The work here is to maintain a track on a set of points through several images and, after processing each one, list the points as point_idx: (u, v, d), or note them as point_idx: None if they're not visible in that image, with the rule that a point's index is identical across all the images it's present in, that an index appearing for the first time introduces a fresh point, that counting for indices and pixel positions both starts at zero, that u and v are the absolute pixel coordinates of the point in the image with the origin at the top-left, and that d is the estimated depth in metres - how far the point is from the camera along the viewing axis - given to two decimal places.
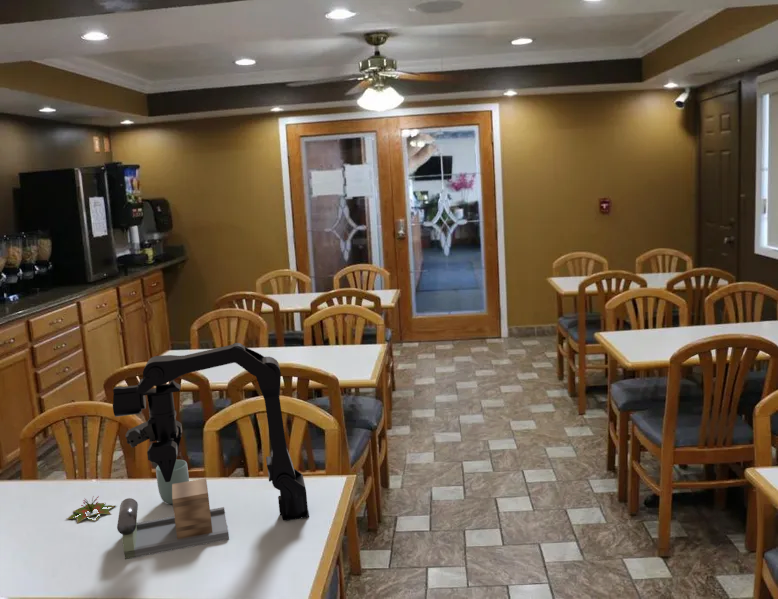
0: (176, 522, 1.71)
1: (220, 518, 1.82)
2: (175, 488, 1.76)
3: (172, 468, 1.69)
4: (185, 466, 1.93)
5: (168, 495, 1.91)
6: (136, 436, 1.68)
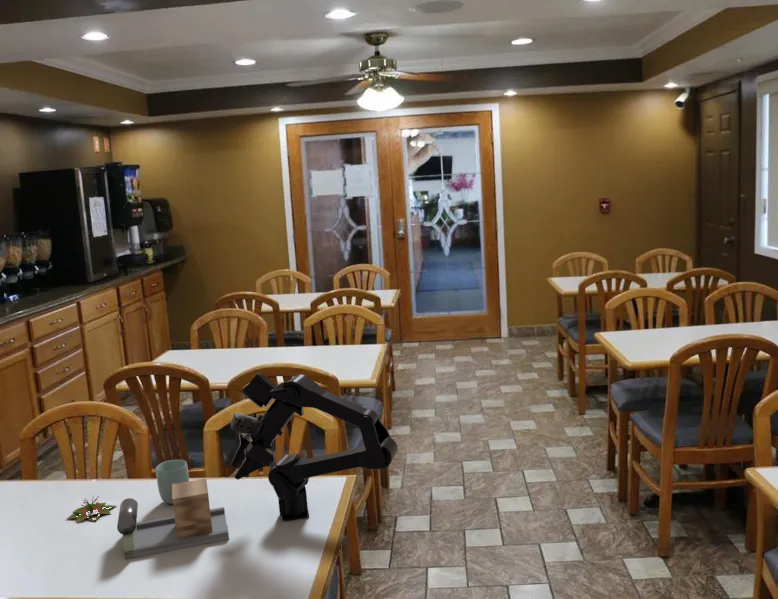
0: (176, 522, 1.71)
1: (220, 518, 1.82)
2: (175, 488, 1.76)
3: (251, 471, 1.73)
4: (185, 466, 1.93)
5: (168, 495, 1.91)
6: (247, 425, 1.72)
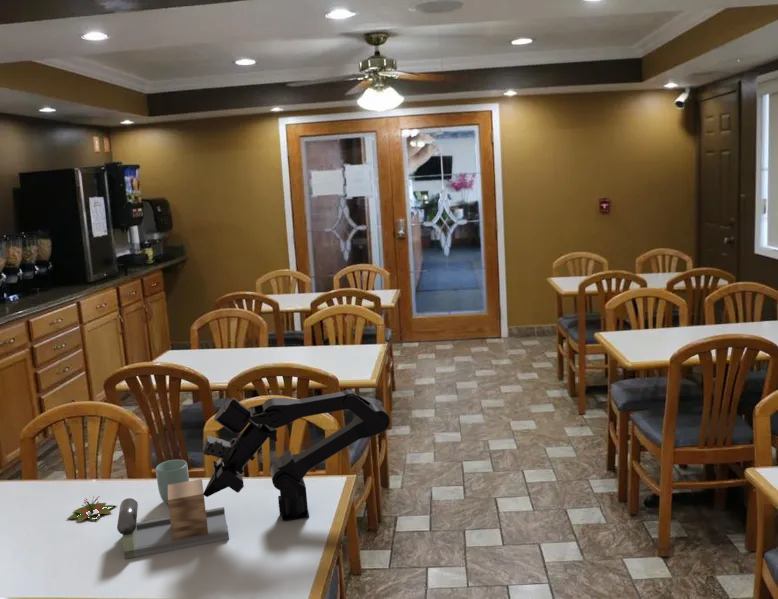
0: (171, 523, 1.71)
1: (220, 518, 1.82)
2: (170, 489, 1.75)
3: (220, 489, 1.76)
4: (185, 466, 1.93)
5: None
6: (219, 450, 1.72)
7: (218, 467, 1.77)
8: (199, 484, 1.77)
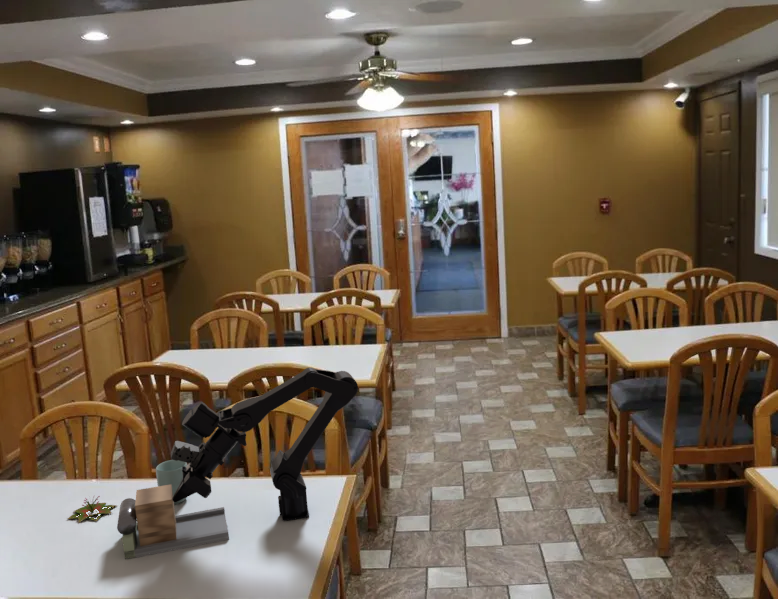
0: (139, 529, 1.69)
1: (220, 518, 1.82)
2: (139, 494, 1.74)
3: (188, 494, 1.74)
4: (185, 466, 1.93)
5: None
6: (186, 455, 1.70)
7: (187, 472, 1.75)
8: (168, 489, 1.75)
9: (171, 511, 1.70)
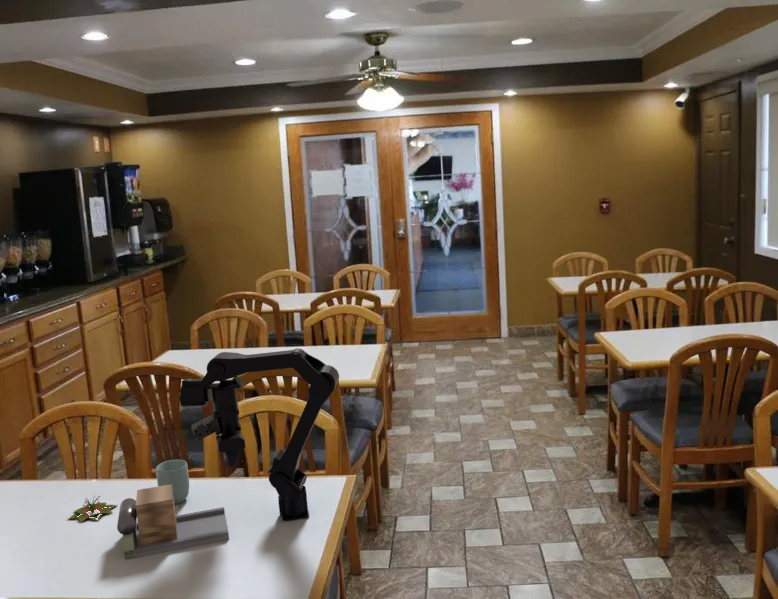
0: (140, 529, 1.69)
1: (220, 518, 1.82)
2: (139, 494, 1.74)
3: (237, 453, 1.81)
4: (185, 466, 1.93)
5: None
6: (204, 430, 1.75)
7: None
8: (169, 489, 1.75)
9: (172, 511, 1.70)
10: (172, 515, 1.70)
